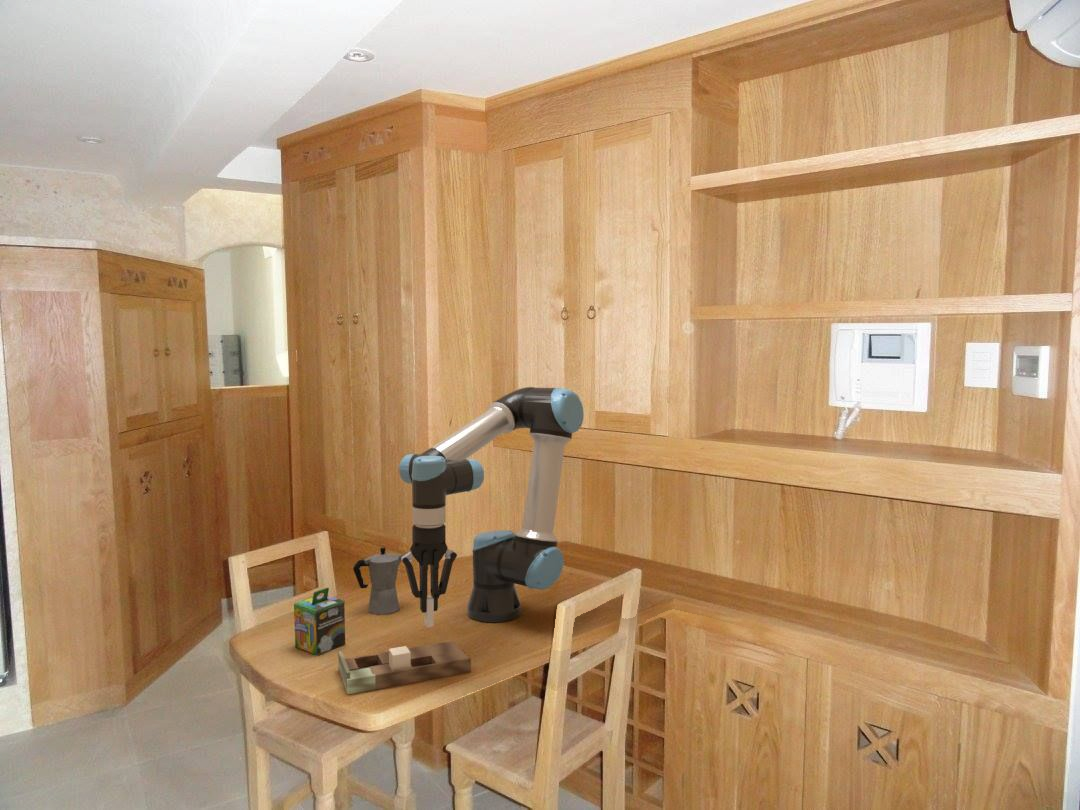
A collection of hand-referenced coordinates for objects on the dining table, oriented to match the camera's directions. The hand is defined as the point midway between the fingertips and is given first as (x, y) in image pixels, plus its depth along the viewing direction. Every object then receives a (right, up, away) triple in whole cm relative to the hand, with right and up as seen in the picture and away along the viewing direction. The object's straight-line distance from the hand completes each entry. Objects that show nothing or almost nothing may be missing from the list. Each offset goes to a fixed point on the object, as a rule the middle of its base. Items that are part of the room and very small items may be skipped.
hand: (429, 625), depth 172 cm
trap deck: (-6, -11, +2) cm, 13 cm away
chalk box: (-30, -10, +16) cm, 35 cm away
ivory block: (-6, -9, -2) cm, 11 cm away
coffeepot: (-20, -8, +41) cm, 46 cm away
